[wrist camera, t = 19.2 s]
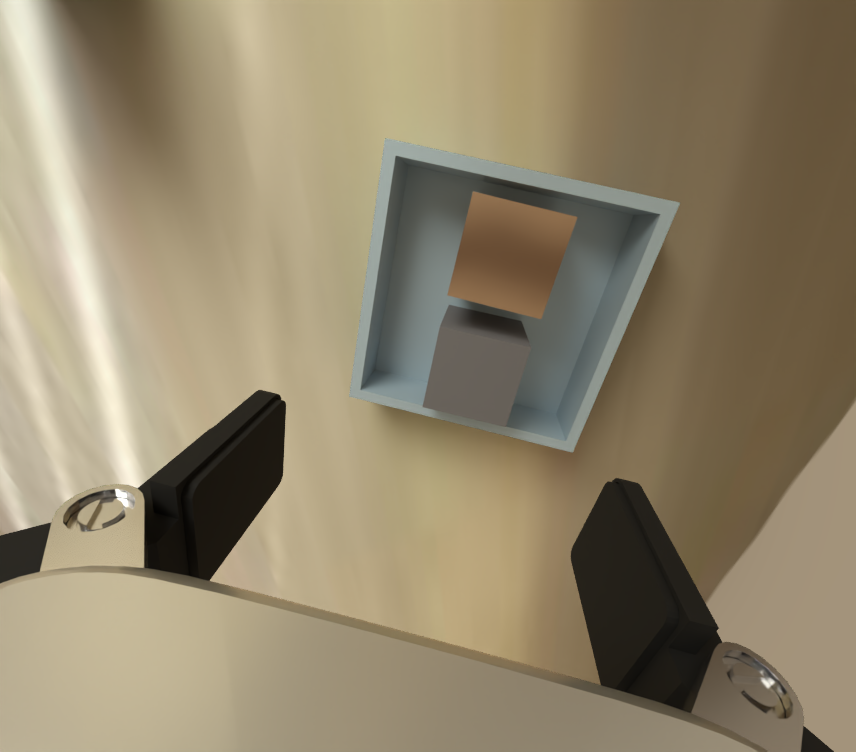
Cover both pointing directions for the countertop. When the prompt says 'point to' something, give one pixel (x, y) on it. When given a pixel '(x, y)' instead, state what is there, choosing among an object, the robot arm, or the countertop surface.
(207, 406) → the countertop surface
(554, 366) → the bin
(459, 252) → the walnut block
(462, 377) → the charcoal block
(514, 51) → the countertop surface
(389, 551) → the countertop surface
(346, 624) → the robot arm
